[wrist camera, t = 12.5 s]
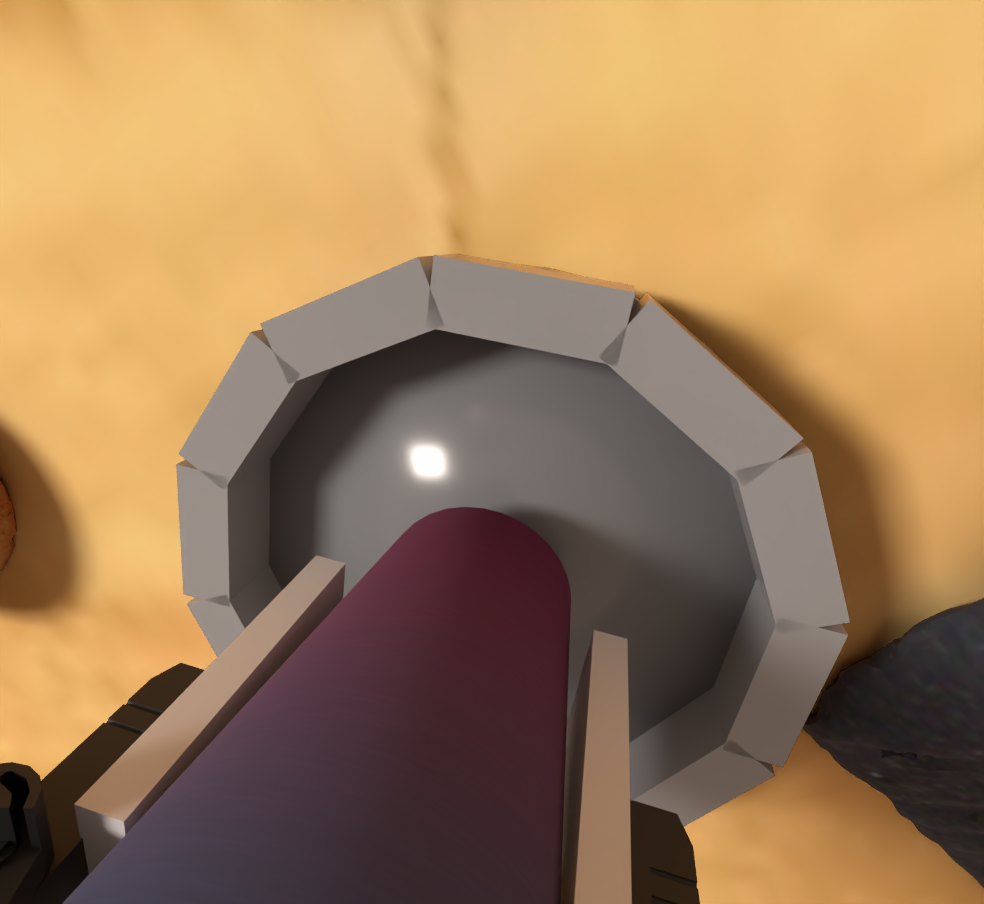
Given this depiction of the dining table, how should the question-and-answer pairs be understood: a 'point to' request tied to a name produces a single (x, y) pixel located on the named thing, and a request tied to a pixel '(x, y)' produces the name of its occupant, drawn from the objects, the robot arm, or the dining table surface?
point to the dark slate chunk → (919, 728)
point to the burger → (6, 526)
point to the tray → (537, 491)
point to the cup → (385, 745)
